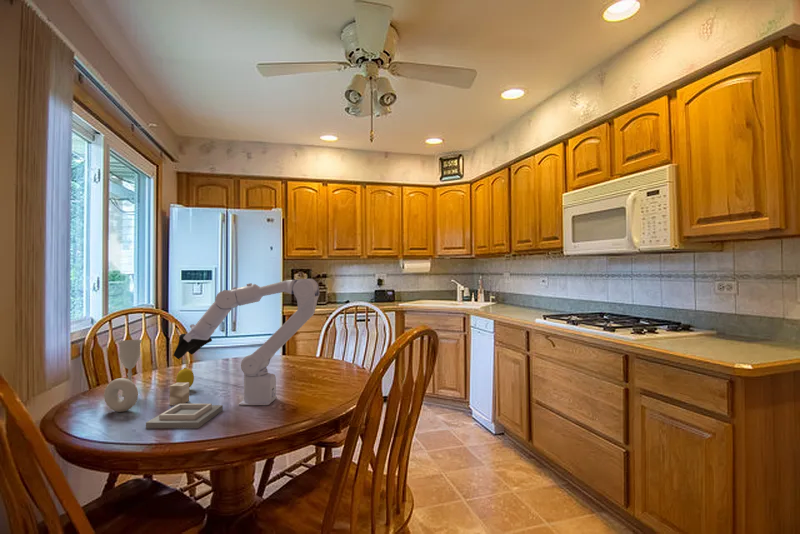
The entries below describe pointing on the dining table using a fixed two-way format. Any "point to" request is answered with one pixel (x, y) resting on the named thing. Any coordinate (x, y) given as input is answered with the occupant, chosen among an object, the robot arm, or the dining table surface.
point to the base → (185, 416)
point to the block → (179, 393)
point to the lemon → (185, 376)
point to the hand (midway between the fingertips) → (183, 354)
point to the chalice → (129, 355)
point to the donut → (129, 392)
